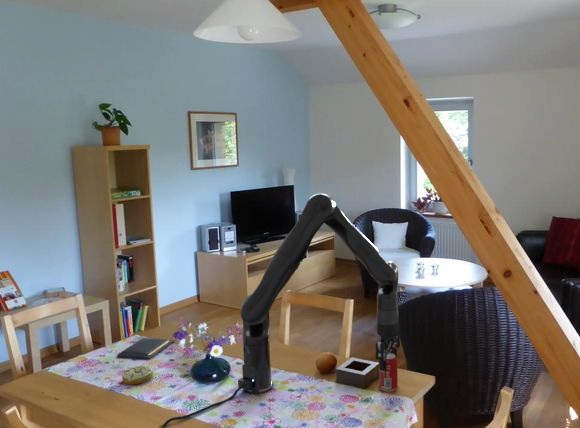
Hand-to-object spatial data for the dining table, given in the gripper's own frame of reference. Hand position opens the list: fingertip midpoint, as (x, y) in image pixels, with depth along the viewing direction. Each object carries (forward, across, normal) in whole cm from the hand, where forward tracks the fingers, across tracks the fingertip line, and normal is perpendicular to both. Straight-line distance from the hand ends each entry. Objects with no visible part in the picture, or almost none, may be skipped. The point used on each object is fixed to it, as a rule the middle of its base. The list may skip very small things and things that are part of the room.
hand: (388, 365), depth 196 cm
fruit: (+8, -3, -27) cm, 29 cm away
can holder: (+8, -2, -13) cm, 16 cm away
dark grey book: (+8, +13, -106) cm, 107 cm away
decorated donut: (+8, +35, -85) cm, 92 cm away
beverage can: (+9, 0, 0) cm, 9 cm away
